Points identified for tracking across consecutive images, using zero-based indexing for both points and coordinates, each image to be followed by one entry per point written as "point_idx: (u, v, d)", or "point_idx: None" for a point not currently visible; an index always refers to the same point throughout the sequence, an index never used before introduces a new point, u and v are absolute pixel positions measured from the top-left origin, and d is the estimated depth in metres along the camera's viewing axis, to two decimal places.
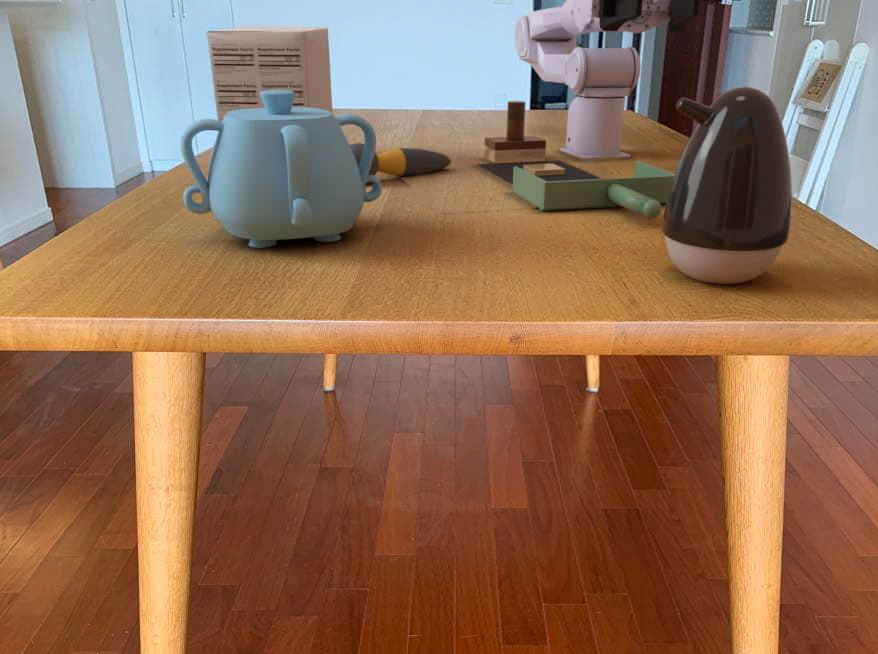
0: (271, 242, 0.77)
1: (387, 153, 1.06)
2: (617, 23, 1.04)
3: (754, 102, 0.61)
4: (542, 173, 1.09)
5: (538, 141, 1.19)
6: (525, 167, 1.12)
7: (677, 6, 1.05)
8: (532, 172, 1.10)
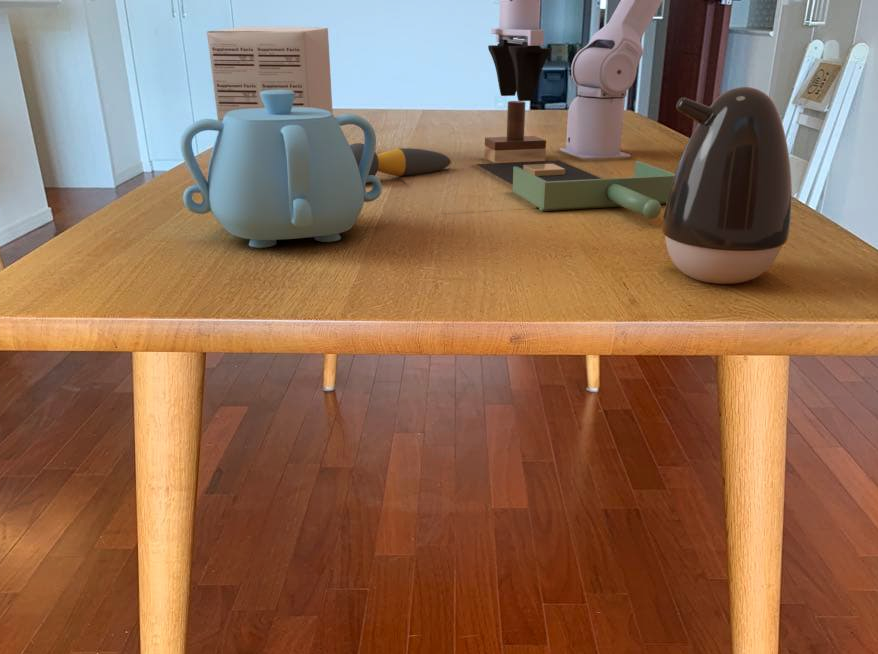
0: (271, 242, 0.77)
1: (387, 153, 1.06)
2: None
3: (754, 102, 0.61)
4: (542, 173, 1.09)
5: (538, 141, 1.19)
6: (525, 167, 1.12)
7: None
8: (532, 172, 1.10)
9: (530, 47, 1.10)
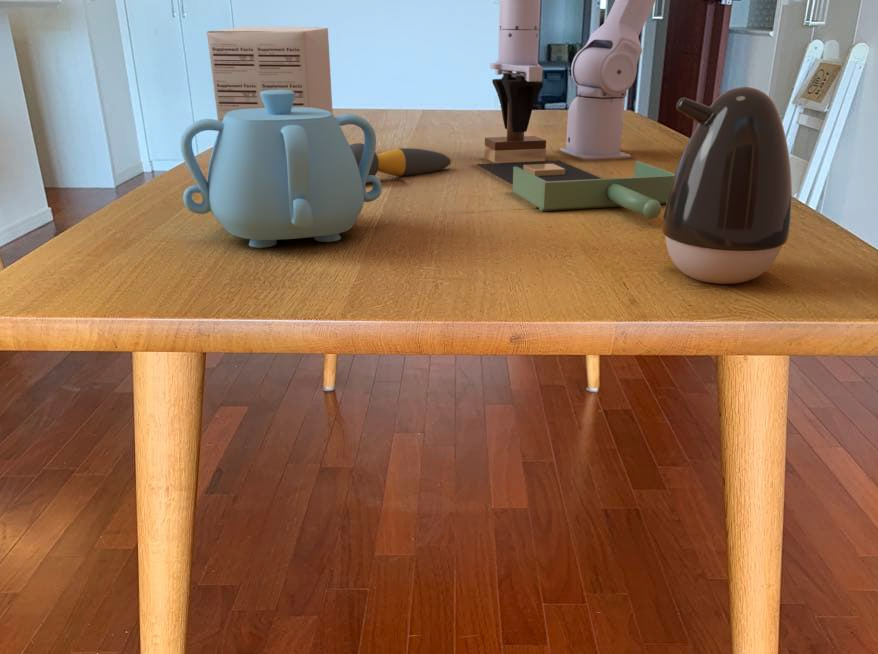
0: (271, 242, 0.77)
1: (387, 153, 1.06)
2: None
3: (754, 102, 0.61)
4: (542, 173, 1.09)
5: (538, 141, 1.19)
6: (525, 167, 1.12)
7: None
8: (532, 172, 1.10)
9: (523, 81, 1.14)
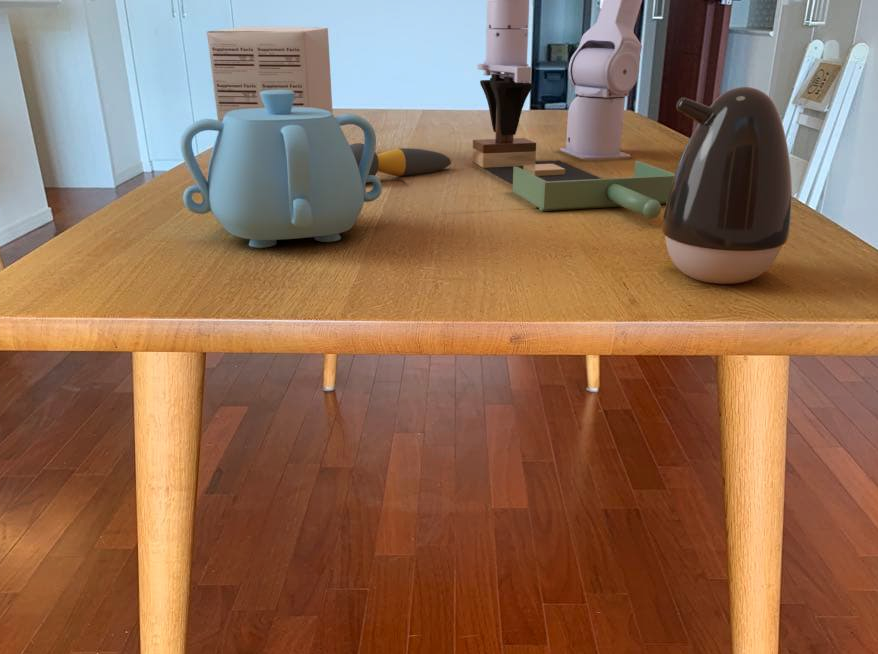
0: (271, 242, 0.77)
1: (387, 153, 1.06)
2: None
3: (754, 102, 0.61)
4: (542, 173, 1.09)
5: (528, 144, 1.15)
6: (525, 167, 1.12)
7: None
8: (532, 172, 1.10)
9: (511, 83, 1.09)
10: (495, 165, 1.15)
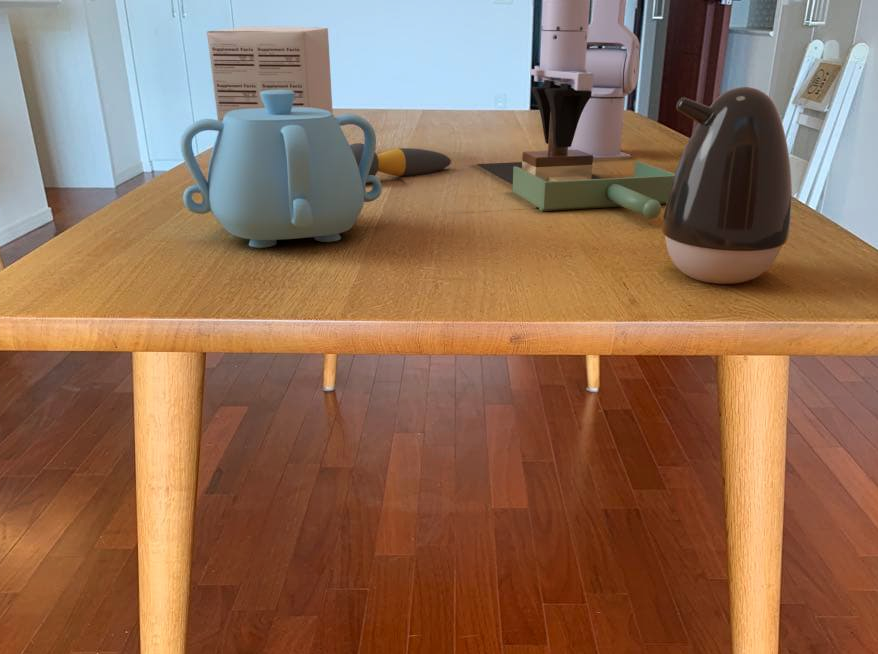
0: (271, 242, 0.77)
1: (387, 153, 1.06)
2: None
3: (754, 102, 0.61)
4: None
5: (584, 156, 1.05)
6: (550, 179, 1.04)
7: None
8: None
9: (569, 90, 0.99)
10: None
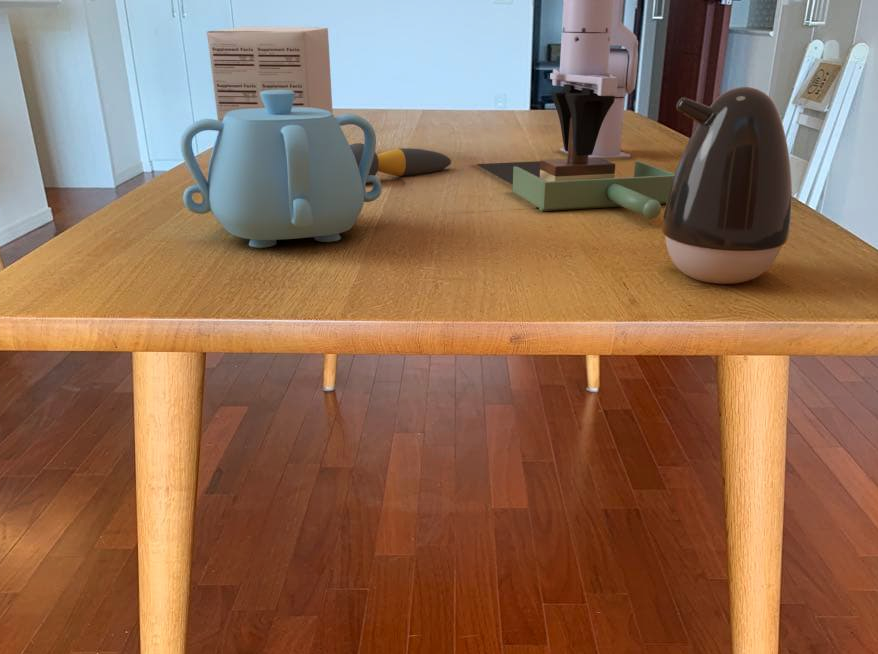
0: (271, 242, 0.77)
1: (387, 153, 1.06)
2: None
3: (754, 102, 0.61)
4: None
5: (606, 165, 0.99)
6: None
7: None
8: None
9: (591, 95, 0.94)
10: None
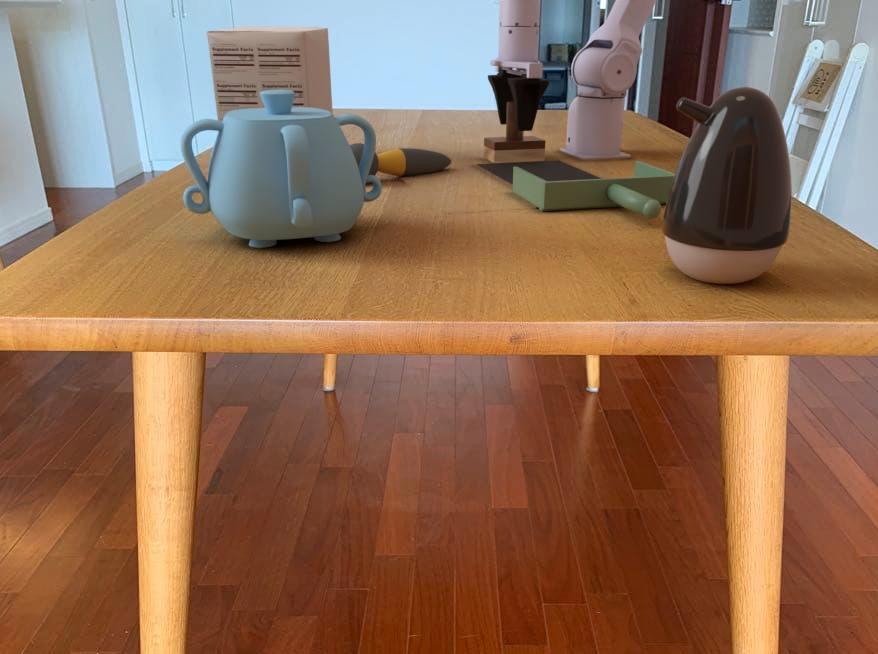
0: (271, 242, 0.77)
1: (387, 153, 1.06)
2: None
3: (754, 102, 0.61)
4: None
5: (537, 141, 1.19)
6: None
7: None
8: None
9: (528, 79, 1.11)
10: (506, 162, 1.19)
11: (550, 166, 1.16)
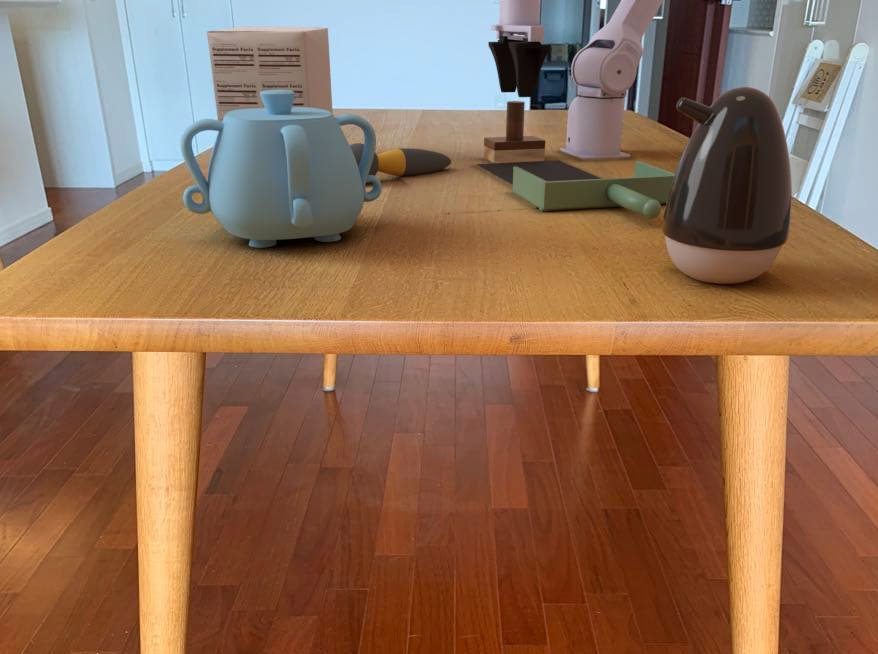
0: (271, 242, 0.77)
1: (387, 153, 1.06)
2: None
3: (754, 102, 0.61)
4: None
5: (537, 141, 1.19)
6: None
7: None
8: None
9: (530, 43, 1.09)
10: (506, 162, 1.19)
11: (550, 166, 1.16)
